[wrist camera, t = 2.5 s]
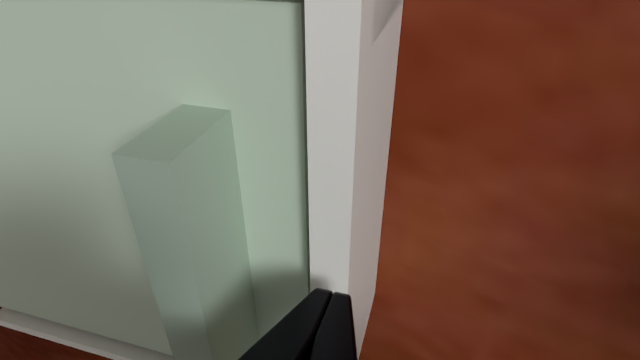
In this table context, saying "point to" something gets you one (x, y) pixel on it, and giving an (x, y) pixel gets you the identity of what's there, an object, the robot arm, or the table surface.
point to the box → (319, 162)
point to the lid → (155, 169)
